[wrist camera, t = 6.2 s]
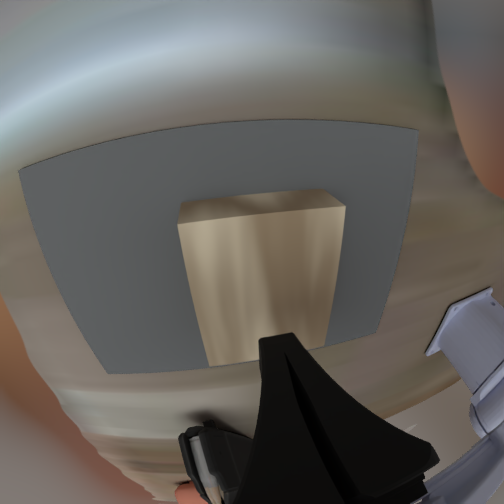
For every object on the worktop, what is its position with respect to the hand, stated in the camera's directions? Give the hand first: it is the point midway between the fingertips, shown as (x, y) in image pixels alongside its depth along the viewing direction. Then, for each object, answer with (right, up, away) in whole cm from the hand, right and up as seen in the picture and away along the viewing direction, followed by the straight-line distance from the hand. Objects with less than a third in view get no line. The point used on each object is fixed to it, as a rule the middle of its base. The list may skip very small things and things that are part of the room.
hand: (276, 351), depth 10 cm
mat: (-2, +3, +5) cm, 6 cm away
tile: (+3, +3, +4) cm, 6 cm away
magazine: (-1, -22, +20) cm, 30 cm away
